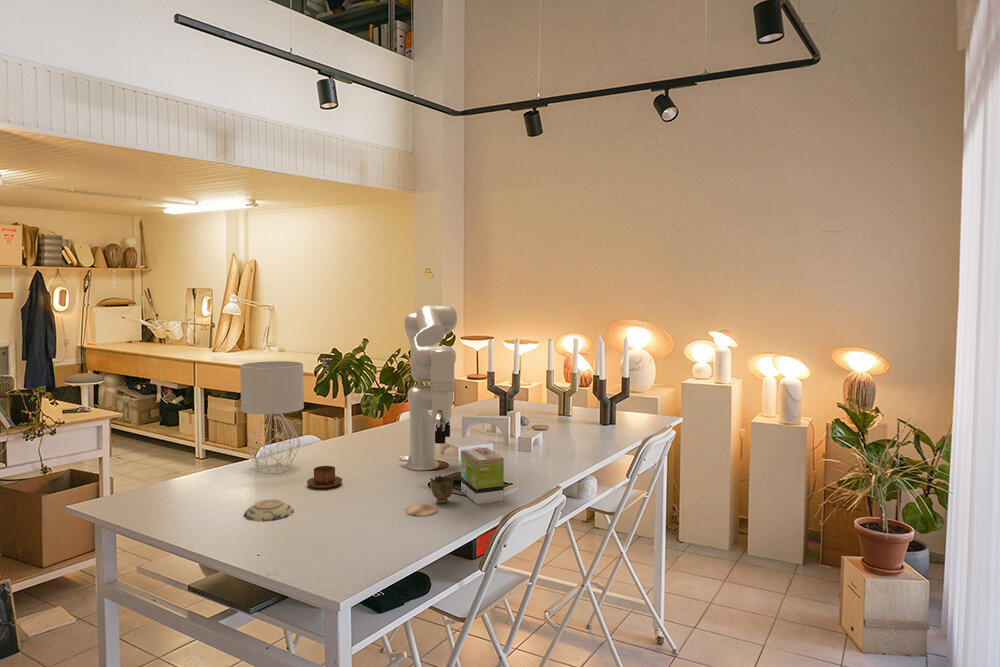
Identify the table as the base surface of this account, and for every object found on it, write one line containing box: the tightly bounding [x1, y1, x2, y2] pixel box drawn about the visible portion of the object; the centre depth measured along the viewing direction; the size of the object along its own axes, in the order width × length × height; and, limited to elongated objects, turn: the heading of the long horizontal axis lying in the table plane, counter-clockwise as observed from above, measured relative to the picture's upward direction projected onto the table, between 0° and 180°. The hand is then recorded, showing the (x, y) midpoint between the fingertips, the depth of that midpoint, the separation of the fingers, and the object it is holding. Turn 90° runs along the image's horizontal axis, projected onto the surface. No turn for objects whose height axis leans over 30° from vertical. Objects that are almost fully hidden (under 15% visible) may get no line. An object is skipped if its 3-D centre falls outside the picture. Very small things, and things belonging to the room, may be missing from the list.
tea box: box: [460, 447, 505, 505], centre depth 233 cm, size 15×10×15 cm, turn 23°
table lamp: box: [239, 360, 305, 475], centre depth 265 cm, size 22×22×40 cm
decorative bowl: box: [242, 499, 295, 523], centre depth 215 cm, size 15×4×15 cm
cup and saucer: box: [306, 465, 343, 489], centre depth 246 cm, size 12×12×6 cm
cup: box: [430, 475, 455, 505], centre depth 227 cm, size 8×7×8 cm
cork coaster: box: [404, 503, 438, 517], centre depth 219 cm, size 10×10×1 cm
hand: (442, 439), depth 226 cm, fingers open, 9 cm apart
